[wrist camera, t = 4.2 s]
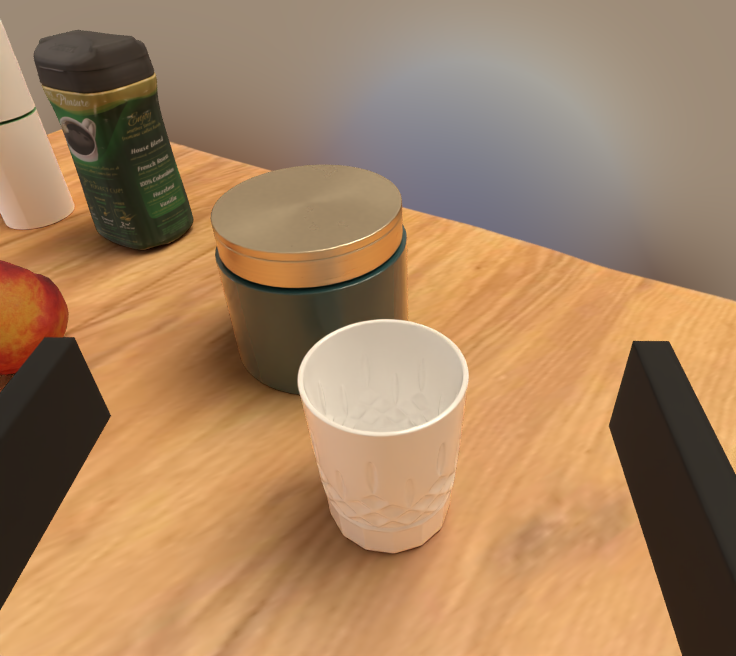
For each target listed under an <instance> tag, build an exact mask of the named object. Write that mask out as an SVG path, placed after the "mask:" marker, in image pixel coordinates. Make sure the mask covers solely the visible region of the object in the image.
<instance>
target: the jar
mask: <svg viewBox="0 0 736 656" xmlns="http://www.w3.org/2000/svg"><path fill="white" fill-rule="evenodd" d="M402 229H403V233H402V240H401V243H400V245H399V247H398V249H397V250H396V252H395V253H394V254H393V255H392V256H391V257H390V258H389V259H388V260H387V261H386V262H384V263H383V264H382V265H380V266H379V267H377V268H375V269H374V270H372V271H370V272H368V273H366V274H364V275H361V276H359V277H356V278H354V279H351V280H347V281H344V282H341V283H336V284H331V285H327V286H319V287H311V288H281V287H272V286H266V285H261V284H257V283H254V282H251V281H248V280H246V279H243V278H241V277H239V276H238V275H236V274H234V273H233V272H232V271H230V270H229V269H228V268H227V267H226V266H225V265H224V263H223V262H222V260H221V258H220V256H219V252H218V248H217V247H216V253H215V257H216V262H217V266H218V270H219V274H220V278H221V282H222V286H223V290H224V295H225V299H226V303H227V307H228V311H229V315H230V319H231V323H232V327H233V331H234V335H235V339H236V343H237V347H238V351H239V355H240V358H241V361H242V363H243V365H244V366H245V368H246V369H247V371H248V372H249V373H250V374H251V375H252V376H253V377H254V378H256V379H257V380H259V381H260V382H261V383H263V384H265V385H267V386H269V387H271V388H274V389H277V390H280V391H283V392H288V393H292V394H300V393H299V389H298V372H299V368H300V365H301V363H302V361H303V359H304V357H305V355H306V354H307V353H308V351H309V350H310V349H311V348H312V347H313V346H314V345H315V344H316V343H317V342H318V341H319V340H321V339H322V338H323V337H325V336H326V335H328V334H330V333H332V332H333V331H335V330H338V329H340V328H342V327H345V326H348V325H351V324H354V323H358V322H363V321H369V320H378V319H395V320H404V321H408V277H407V235H406V230H405V228H404V226H403V224H402Z"/></svg>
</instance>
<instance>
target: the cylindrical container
mask: <svg viewBox="0 0 736 656" xmlns="http://www.w3.org/2000/svg"><path fill="white" fill-rule="evenodd" d="M74 208H75V205H74V202H73V200H72V197H71V195H70V192H69V190H68V187H67V185H66V182H65V180H64V177H63V175H62V172H61V170H60V167H59V165H58V162H57V160H56V157H55V155H54V152H53V150H52V147H51V145H50V142H49V140H48V137H47V135H46V132H45V130H44V127H43V125H42V122H41V120H40V117H39V115H38V112H37V110H36V107H35V105H34V102H33V100H32V97H31V95H30V92H29V90H28V87H27V84H26V82H25V79H24V77H23V75H22V72H21V69H20V67H19V64H18V62H17V59H16V57H15V54H14V52H13V49H12V47H11V44H10V42H9V39H8V37H7V34H6V32H5V29H4V27H3V24H2V22H1V19H0V213H1V215H2V217H3V219H4V221H5V223H6V225H7V226H8V227H10V228H13V229H23V230H25V229H34V228H40V227H44V226H47V225H51V224H53V223H56V222H58V221H60V220H62V219H64V218H65V217H67V216H68V215H70V214H71V213H72V212H73V210H74Z"/></svg>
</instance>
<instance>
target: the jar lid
mask: <svg viewBox="0 0 736 656" xmlns="http://www.w3.org/2000/svg"><path fill="white" fill-rule="evenodd" d="M211 223H212V227H213V231H214V235H215V239H216V244H217V248H218V252H219V256H220V258H221V260H222V262H223V263H224V265H225V266H226V267H227V268H228V269H229V270H230V271H232V272H233V273H234V274H236V275H238V276H239V277H241V278H243V279H246V280H248V281H251V282H254V283H257V284H261V285H266V286H272V287H281V288H311V287H319V286H327V285H331V284H336V283H341V282H344V281H347V280H351V279H354V278H356V277H359V276H361V275H364V274H366V273H368V272H370V271H372V270H374V269H375V268H377V267H379V266H380V265H382V264H383V263H384V262H386V261H387V260H388V259H389V258H390V257H391V256H392V255H393V254H394V253H395V252H396V250H397V249H398V247H399V245H400V243H401V240H402V233H403V229H402V198H401V194H400V192H399V190H398V189H397V187H396V186H395V185H394V184H393V183H392V182H390V181H389V180H388V179H386V178H385V177H383V176H381V175H379V174H376V173H374V172H371V171H368V170H364V169H360V168H355V167H349V166H341V165H306V166H297V167H291V168H285V169H280V170H276V171H271V172H268V173H264V174H261V175H259V176H256V177H253V178H251V179H248V180H246V181H244V182H242V183H240V184H238V185H236V186H235V187H233V188H231V189H230V190H228V191H227V192H226V193H225V194H224V195H222V196H221V197H220V199H219V200H218V201H217V202H216V204H215V205H214V207H213V209H212V212H211Z"/></svg>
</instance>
